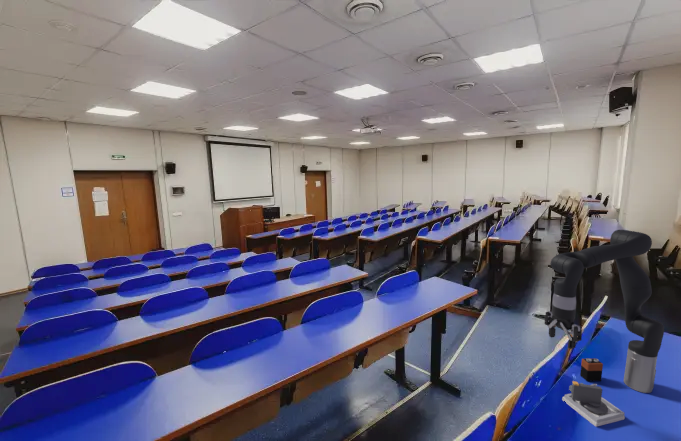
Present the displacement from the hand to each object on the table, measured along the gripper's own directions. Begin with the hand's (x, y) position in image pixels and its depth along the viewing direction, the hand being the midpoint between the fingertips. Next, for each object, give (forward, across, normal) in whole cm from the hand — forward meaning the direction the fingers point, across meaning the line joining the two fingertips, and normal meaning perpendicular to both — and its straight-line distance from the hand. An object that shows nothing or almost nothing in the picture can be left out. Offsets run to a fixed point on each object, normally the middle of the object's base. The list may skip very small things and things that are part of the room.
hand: (561, 342), depth 121 cm
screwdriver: (+29, +5, -20) cm, 36 cm away
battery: (+30, +10, -29) cm, 43 cm away
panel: (+29, -5, -12) cm, 32 cm away
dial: (+27, -4, -11) cm, 30 cm away
